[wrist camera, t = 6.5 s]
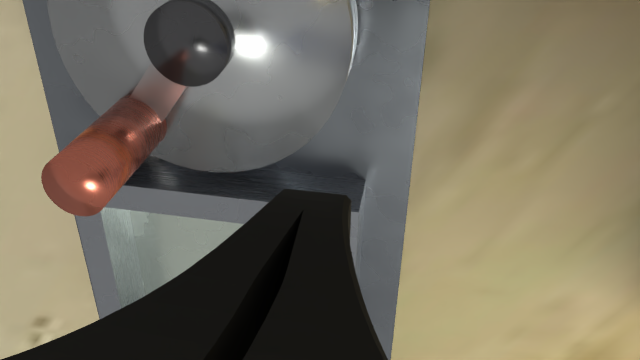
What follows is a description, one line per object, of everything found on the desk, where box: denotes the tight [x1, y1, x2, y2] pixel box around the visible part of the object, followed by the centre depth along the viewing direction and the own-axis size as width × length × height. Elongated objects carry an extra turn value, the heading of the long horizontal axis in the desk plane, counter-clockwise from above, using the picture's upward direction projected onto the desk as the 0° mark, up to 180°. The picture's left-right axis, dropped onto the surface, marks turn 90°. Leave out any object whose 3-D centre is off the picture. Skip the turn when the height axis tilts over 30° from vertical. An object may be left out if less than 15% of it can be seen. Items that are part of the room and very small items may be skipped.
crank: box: [41, 0, 358, 216], centre depth 16 cm, size 9×9×6 cm
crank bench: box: [23, 0, 430, 360], centre depth 21 cm, size 13×22×4 cm, turn 179°
